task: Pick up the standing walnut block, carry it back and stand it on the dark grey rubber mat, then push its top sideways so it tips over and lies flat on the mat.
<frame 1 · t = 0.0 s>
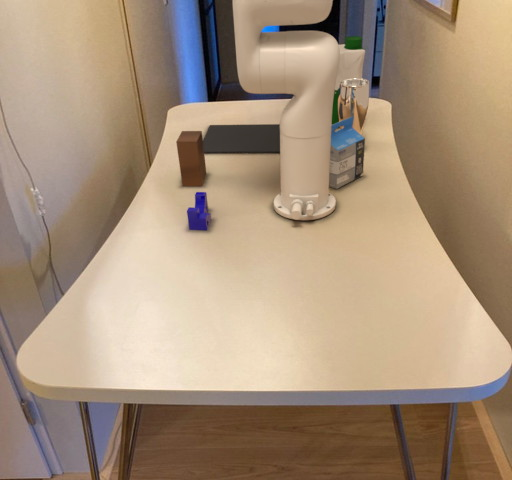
silver metal cup: (350, 148, 133), on the table
walnut block: (194, 180, 123), on the table
mat: (246, 139, 140), on the table
label tape box: (343, 181, 120), on the table
cable holder: (202, 220, 109), on the table
milk carton: (340, 123, 146), on the table
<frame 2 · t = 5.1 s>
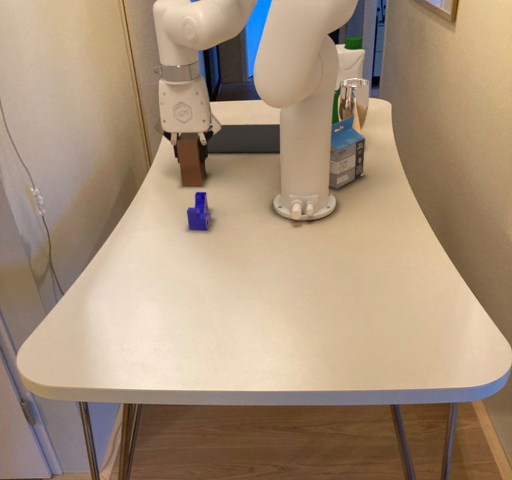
hand: (192, 159, 120), 5 cm above the table, tool pointing down, fingers closed on walnut block, 4 cm apart
walnut block: (194, 180, 123), on the table, touching gripper
everything else where it was.
when the fingers open (5 cm above the table, at t = 13.3 s): walnut block stays where it is, resting on mat.
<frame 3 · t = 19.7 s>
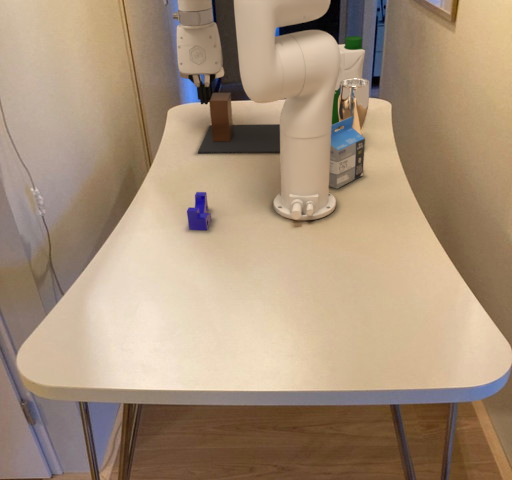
hand: (205, 102, 135), 9 cm above the table, tool pointing down, fingers closed
walnut block: (223, 137, 141), point 1 cm above the table, touching gripper, mat
everything else where it was.
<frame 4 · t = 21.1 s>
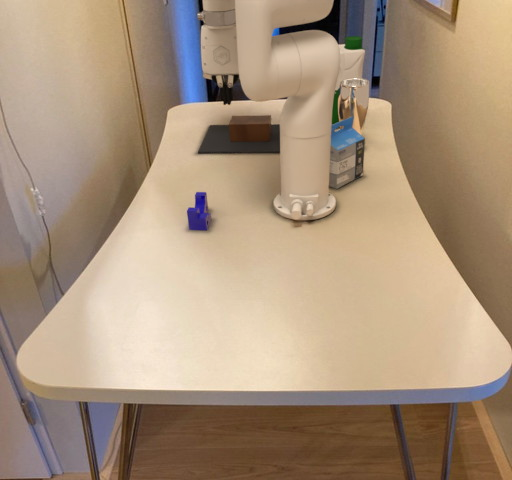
hand: (227, 102, 135), 9 cm above the table, tool pointing down, fingers closed
walnut block: (231, 128, 139), point 3 cm above the table, tilted 90°, touching mat
everything else where it was.
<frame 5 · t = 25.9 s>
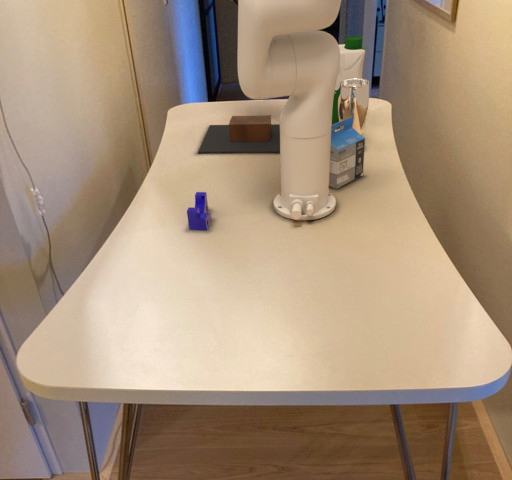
hand: (248, 28, 124), 25 cm above the table, tool pointing down, fingers closed
nothing on the table moved.
at the end: walnut block tilted 90°; walnut block inside the target area on the mat (3.8 cm from its centre), point 2.7 cm above the mat's base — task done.
